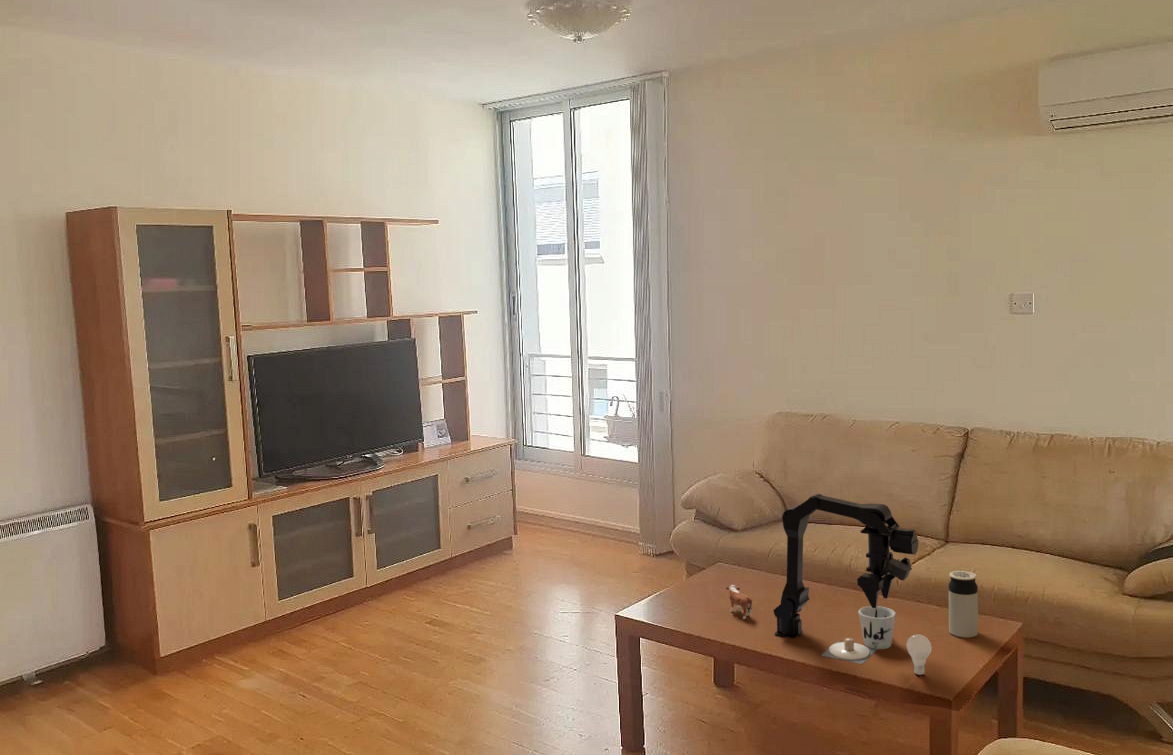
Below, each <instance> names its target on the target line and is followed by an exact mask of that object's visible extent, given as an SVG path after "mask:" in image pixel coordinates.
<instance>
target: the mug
mask: <svg viewBox="0 0 1173 755" xmlns="http://www.w3.org/2000/svg"><path fill="white" fill-rule="evenodd" d="M857 613H858V617H859V623H860V628H861V634H862V640H863V644H864V646H866V647H869V648H874V649H877V650H885V649H888V648H890V647H891V646H892V642H893V636H894V630H895V624H896V623H895V622H896V616H897V615H896V614H897V613H896V611H894V610H893V609H891V608H890V607H889V608H888V607H884V606H879V605H877V606H876V608H872V607H871V605H869V606H863V607H861V608H859V610H858V612H857Z"/></svg>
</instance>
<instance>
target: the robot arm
mask: <svg viewBox="0 0 1173 755" xmlns="http://www.w3.org/2000/svg"><path fill="white" fill-rule="evenodd" d="M816 511H821V512H822V511H823V512H825V513H831V514H833V515H834V514H835V515H838V516H842V517H846V518H847V517H848V518H850V519H854V520H857V521H858V522H859V523H861V524H863V525H865V526H864V528H863V529H861V530H860V533H861V534H866V535H867V538H868V539H867V542H868V544H867V545H868V546H867V548H868V549H867V551H868V552H867V553H866V554H865V557H866V558H868V565H867V567H866V572H864V573H863V574H861V575H860V576H859V577H857V580H856V581H857V582H856V583H857V586H858V587H859V588H860V589H861V590H862V592H863V593H864V595H865V597H866V598H867V601H868V602H869V606H871V607H872V608H876V606H878V599H879V591H880V592H881V595H882V597H883V599H888V598H889V595H890V590H891V586H892V583H893V580H894V579H895V578H897V579H898V580H899V581H905V580H906V579H907V578H909V575H910V572H911V571H912V565H911V559H910V558H908V557H903V558H902V559H901V560H900V559H899V558H894V554H893V553H899V554H906V555H913V556H915V555H916V554H917V552H918V549H919V538H918V536H917V534H916V530H915V529H913V528H912V529H911V528H908V529H907V528H900V525H899V523H898V521H896V519H895V518H894V516H892V512H891V509H890V508H889V506H887V505H886V504H884V503H857V502H852V501H849V500H846V499H845V500H844V499H839V498H835V497H831V496H827V495H823V494H821V493H816V494H813V495H811V496H810V497H808V499H807V500H806V501H804V502H802V503H801V504H797V505H794V506H792V507H790V508H788V509H786V510H785V511H784V512H783V513H782V515H781V521H782V528H783V530H784V533H785V534H786V538H787V540H786V541H787V543H786V545H787V546H786V583H785V585H784V588H783V591H782V592H781V598H780V599H781V600H780V604H779V605H778V606H776V607H775V608H774V609H773V614H774V617H775V618H776V632H774V635H775V636H779V637H784V638H791V639H796V638H797V637H799V635H800V634H802V633H803V632H804V631H803V627H802V625H803V624H802V619H801V614H800V612H801V611H802V609H803V608H804V607H805V606H807V603H808V601H810V596H809V592H810V588H809V587H807V586H806V587H805V584H804V582H803V564H804V562H803V560H804V556H803V555H804V536H805V533H806V530H807V528H808V525H809V524H808V522H809V519H810V515H811V514H813V513H815V512H816ZM890 550H891V551H890ZM892 551H893V552H892Z"/></svg>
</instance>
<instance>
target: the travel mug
mask: <svg viewBox="0 0 1173 755" xmlns="http://www.w3.org/2000/svg"><path fill="white" fill-rule="evenodd" d="M949 577H950V581H949V583H948V632H949V633H950V634H951V635H953V636H954V637H958V638H965V639H966V638H967V639H969V638H974V637H976V636H978V635H979V620H978V618H979V608H978V607H979V605H978V604H979V603H978V602H979V601H978V600H979V598H978V597H979V595H978V594H979V592H978V589H979V588H978V585H977V584H978V583H977V582H976V580H977V574H976V573H975V572H972V571H966V570H955V571H951V572H950V573H949Z"/></svg>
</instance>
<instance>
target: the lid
mask: <svg viewBox="0 0 1173 755" xmlns="http://www.w3.org/2000/svg"><path fill="white" fill-rule="evenodd" d="M840 642H841V643H836V642H835V643H836V644H835V643H833V644H832V645H830V646H829V648H828V649H829V651H830V654H831V655H833V656H834V657H837V658H840V659H845V660H860V659H864V658H866V657H868V656H869V649H868V648H867V646H866V645H865V644H864V645H863V644H861V643H857V642H855V639H854V638H852V637H845V638H844V641H840Z"/></svg>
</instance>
